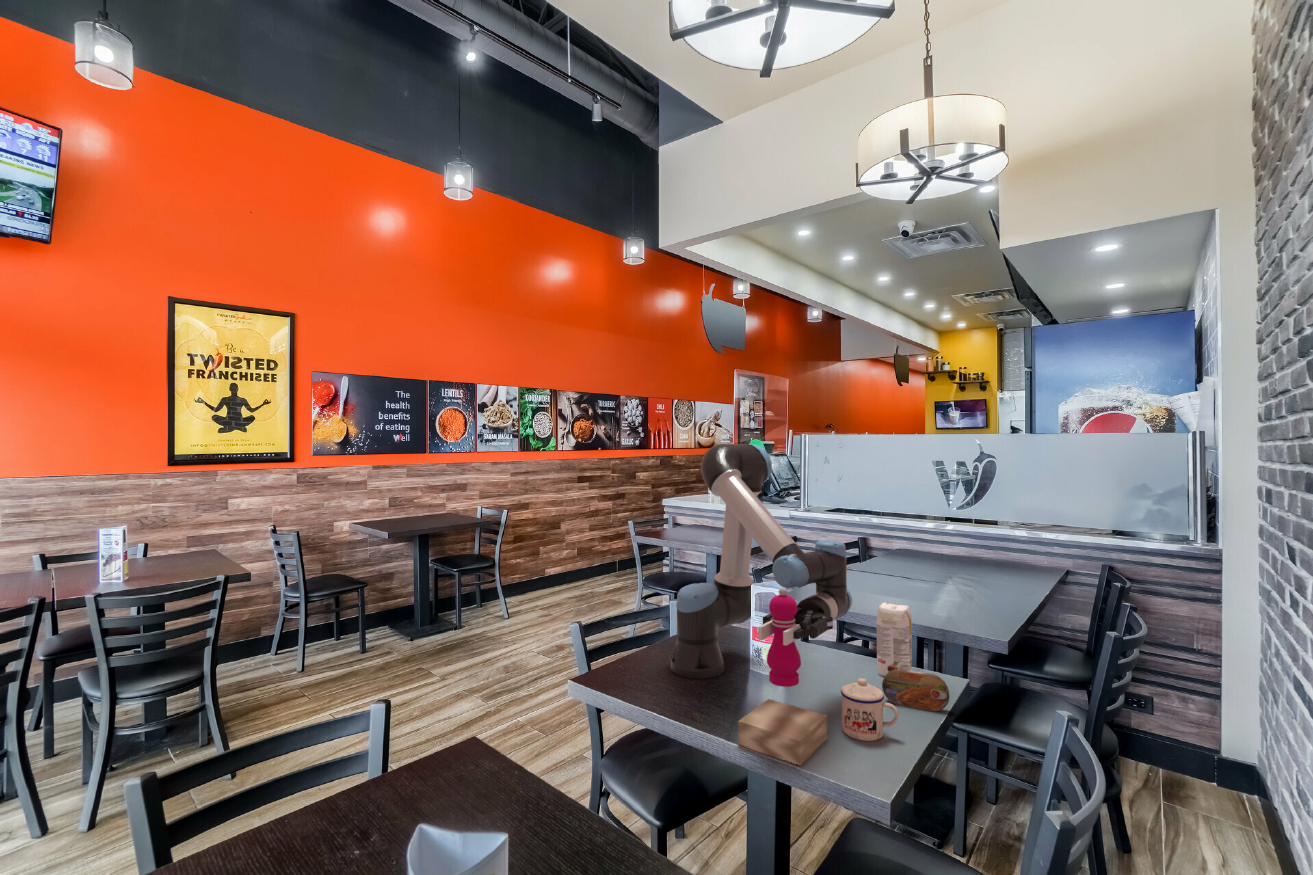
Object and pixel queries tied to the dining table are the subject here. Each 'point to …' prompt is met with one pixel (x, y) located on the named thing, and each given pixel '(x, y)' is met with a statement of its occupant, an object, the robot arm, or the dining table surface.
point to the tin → (916, 690)
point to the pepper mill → (781, 656)
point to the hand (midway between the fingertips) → (772, 635)
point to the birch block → (783, 731)
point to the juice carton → (894, 638)
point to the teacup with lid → (864, 711)
